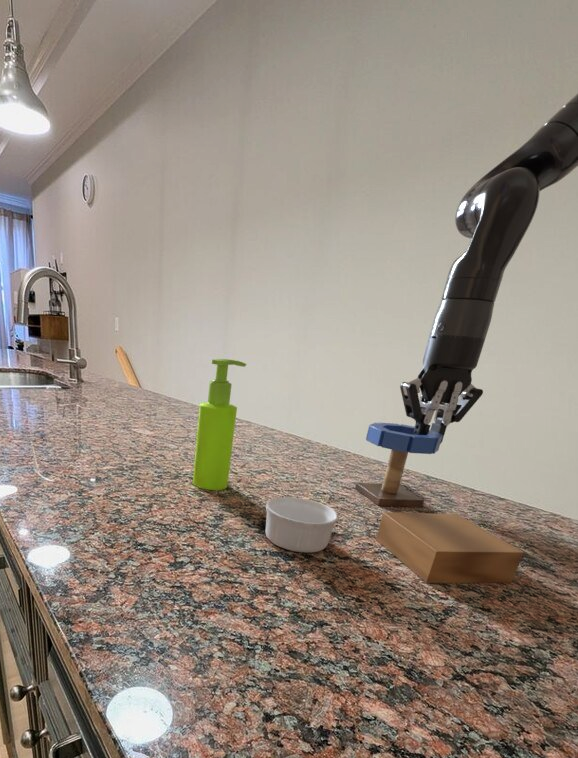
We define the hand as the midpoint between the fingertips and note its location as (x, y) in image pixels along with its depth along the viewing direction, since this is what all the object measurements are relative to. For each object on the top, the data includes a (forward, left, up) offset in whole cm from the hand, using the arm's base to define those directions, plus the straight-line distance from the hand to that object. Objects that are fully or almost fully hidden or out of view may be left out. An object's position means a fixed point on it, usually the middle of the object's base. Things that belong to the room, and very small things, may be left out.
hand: (424, 445), depth 74 cm
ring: (+4, 0, 0) cm, 4 cm away
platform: (+10, +22, -9) cm, 26 cm away
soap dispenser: (+34, -4, -10) cm, 36 cm away
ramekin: (+27, +17, -10) cm, 34 cm away
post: (+4, 0, -9) cm, 10 cm away
